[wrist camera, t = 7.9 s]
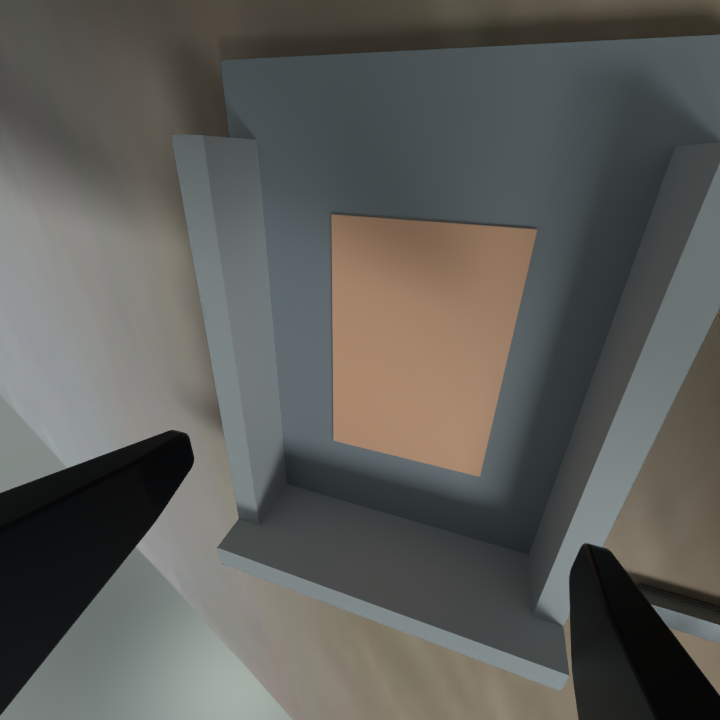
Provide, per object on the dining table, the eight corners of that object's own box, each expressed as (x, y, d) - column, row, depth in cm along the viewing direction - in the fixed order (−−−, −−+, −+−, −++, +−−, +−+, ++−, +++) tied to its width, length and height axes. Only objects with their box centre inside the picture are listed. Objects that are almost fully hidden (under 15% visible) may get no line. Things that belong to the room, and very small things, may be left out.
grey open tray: (748, 44, 8) (993, -74, 4) (544, 564, 17) (556, 698, 13) (240, 67, 12) (96, 15, 8) (281, 486, 20) (222, 570, 16)
